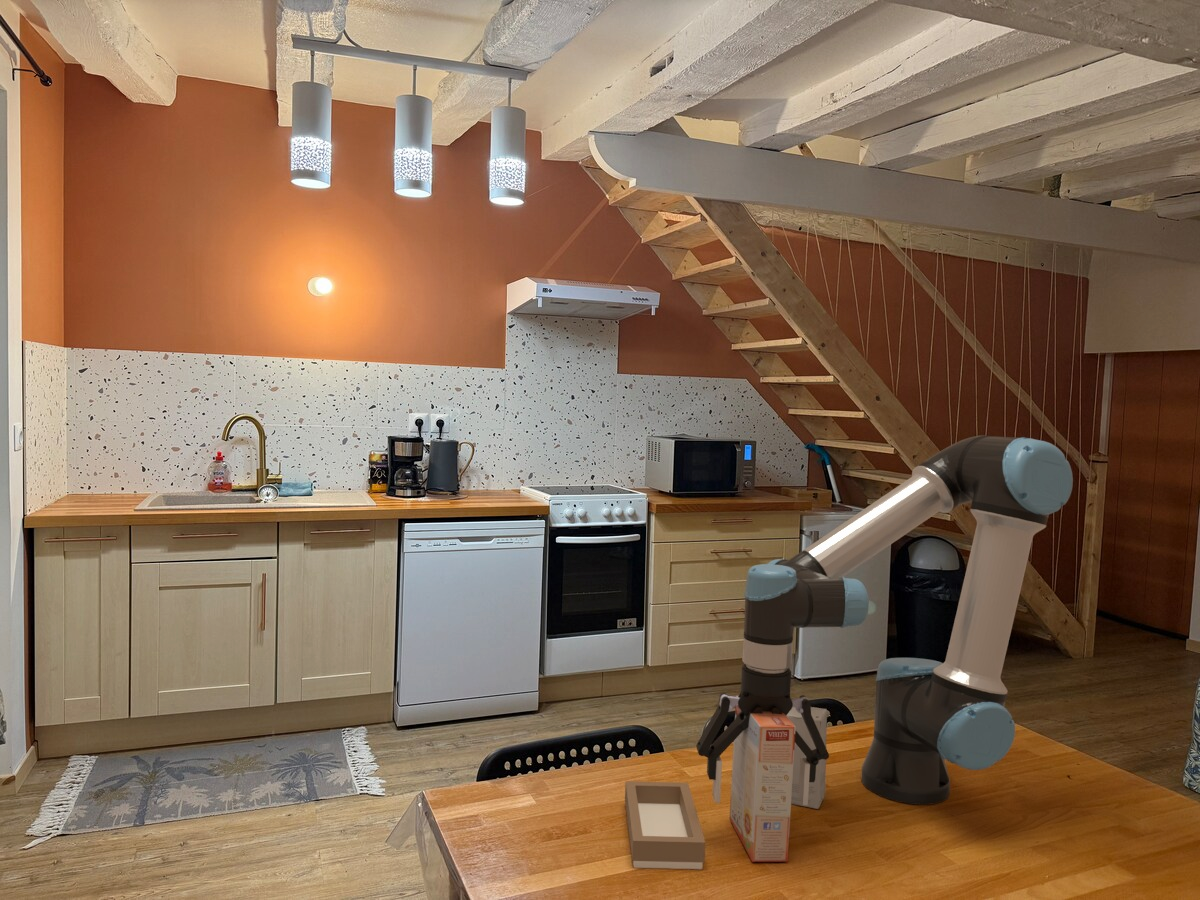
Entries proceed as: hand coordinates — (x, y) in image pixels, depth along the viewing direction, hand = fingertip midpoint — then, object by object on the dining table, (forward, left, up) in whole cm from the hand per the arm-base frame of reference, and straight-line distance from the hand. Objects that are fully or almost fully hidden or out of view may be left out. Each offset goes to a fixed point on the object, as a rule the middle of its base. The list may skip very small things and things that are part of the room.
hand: (759, 800), depth 137 cm
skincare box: (-10, -15, -7) cm, 19 cm away
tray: (+15, -1, -6) cm, 16 cm away
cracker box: (0, 0, -7) cm, 7 cm away
